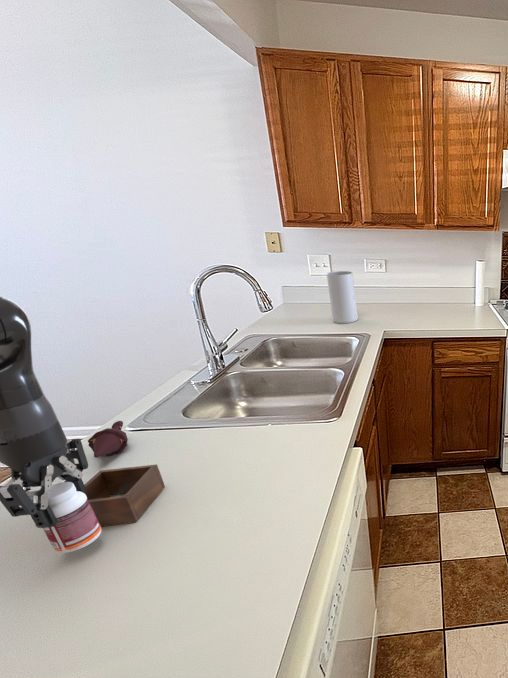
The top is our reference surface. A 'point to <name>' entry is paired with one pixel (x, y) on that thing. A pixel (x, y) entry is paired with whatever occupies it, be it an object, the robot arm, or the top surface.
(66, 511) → the pill bottle
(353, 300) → the cylinder vase
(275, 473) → the top surface
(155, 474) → the box
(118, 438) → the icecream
